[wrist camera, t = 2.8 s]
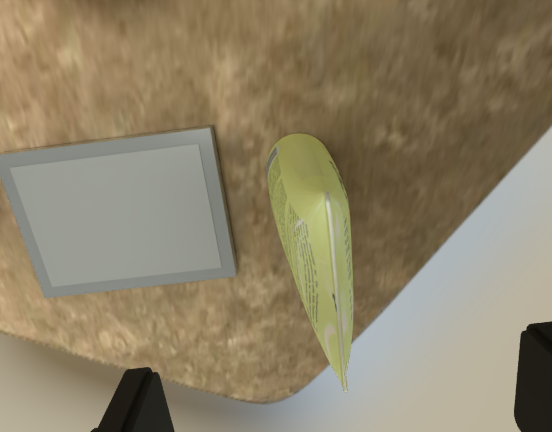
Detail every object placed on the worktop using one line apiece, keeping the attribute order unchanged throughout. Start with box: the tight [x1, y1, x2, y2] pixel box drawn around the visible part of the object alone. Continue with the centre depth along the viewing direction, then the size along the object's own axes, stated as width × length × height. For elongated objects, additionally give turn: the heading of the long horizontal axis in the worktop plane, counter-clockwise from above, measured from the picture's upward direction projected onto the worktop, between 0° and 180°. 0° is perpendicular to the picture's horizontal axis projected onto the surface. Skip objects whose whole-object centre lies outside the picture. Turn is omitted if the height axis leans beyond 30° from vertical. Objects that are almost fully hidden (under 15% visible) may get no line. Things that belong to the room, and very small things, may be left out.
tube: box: [266, 133, 354, 393], centre depth 23 cm, size 6×5×20 cm
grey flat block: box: [0, 125, 238, 298], centre depth 32 cm, size 16×12×2 cm
